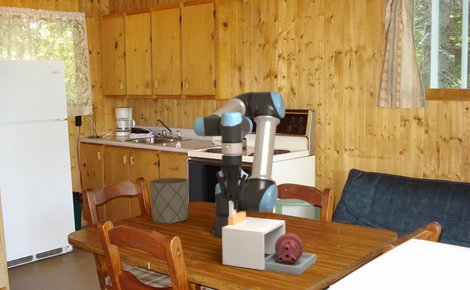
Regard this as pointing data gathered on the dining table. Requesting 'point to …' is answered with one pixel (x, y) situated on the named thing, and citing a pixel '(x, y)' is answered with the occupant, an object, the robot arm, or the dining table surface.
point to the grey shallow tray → (292, 268)
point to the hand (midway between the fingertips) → (232, 217)
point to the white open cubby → (249, 240)
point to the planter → (169, 199)
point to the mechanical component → (289, 248)
